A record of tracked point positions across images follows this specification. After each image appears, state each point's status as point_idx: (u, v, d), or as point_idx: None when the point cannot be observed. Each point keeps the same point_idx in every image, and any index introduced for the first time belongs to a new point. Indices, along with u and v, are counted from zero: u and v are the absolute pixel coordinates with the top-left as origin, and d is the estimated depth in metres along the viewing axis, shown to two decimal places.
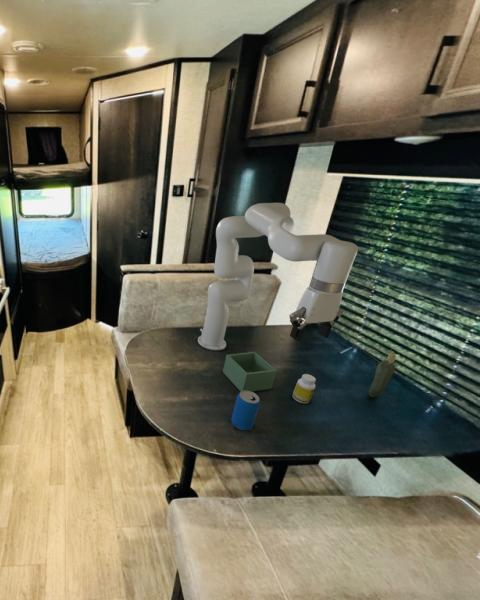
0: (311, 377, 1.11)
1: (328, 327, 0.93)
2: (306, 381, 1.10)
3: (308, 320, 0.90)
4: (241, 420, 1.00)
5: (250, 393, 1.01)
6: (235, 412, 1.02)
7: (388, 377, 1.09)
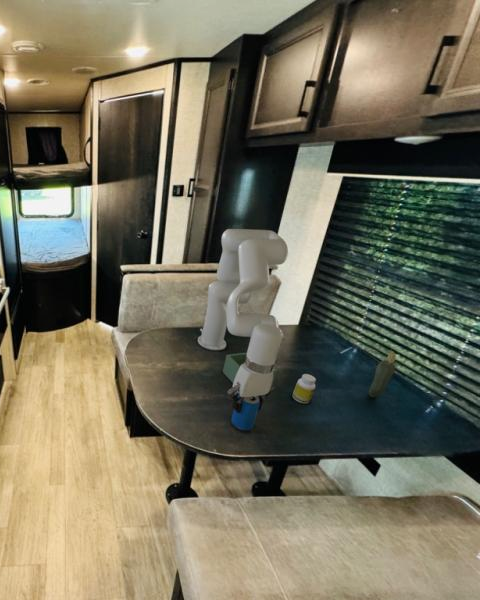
0: (311, 377, 1.11)
1: None
2: (306, 381, 1.10)
3: (242, 395, 0.96)
4: (241, 420, 1.00)
5: None
6: (235, 412, 1.02)
7: (388, 377, 1.09)
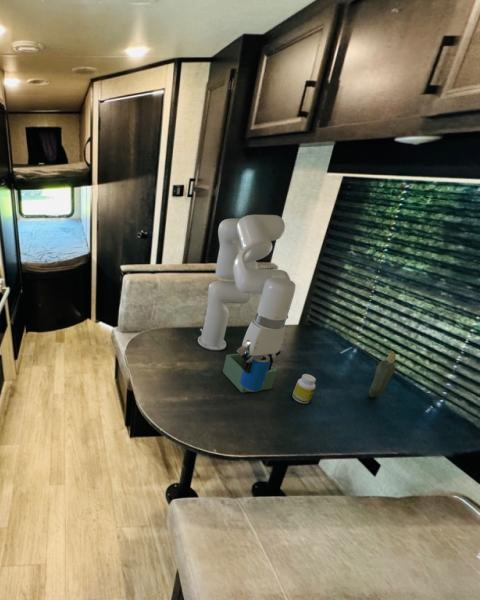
0: (311, 377, 1.11)
1: (270, 361, 0.96)
2: (306, 381, 1.10)
3: (252, 353, 0.92)
4: (251, 380, 0.97)
5: None
6: (244, 373, 0.99)
7: (388, 377, 1.09)
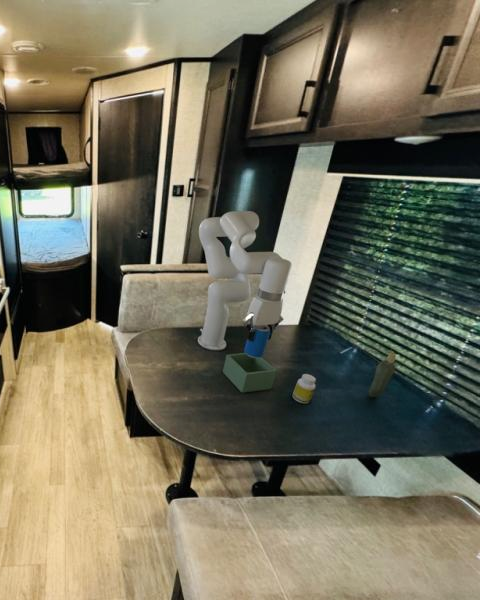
0: (311, 377, 1.11)
1: (270, 331, 1.12)
2: (306, 381, 1.10)
3: (255, 323, 1.09)
4: (253, 347, 1.13)
5: None
6: (248, 342, 1.15)
7: (388, 377, 1.09)
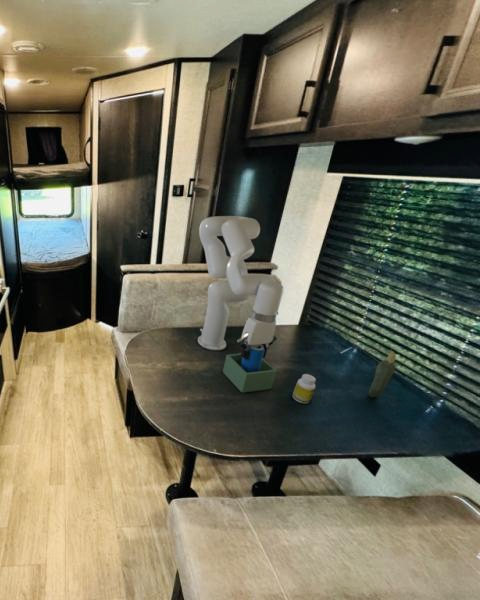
0: (311, 377, 1.11)
1: (264, 349, 1.18)
2: (306, 381, 1.10)
3: (250, 342, 1.14)
4: (249, 365, 1.18)
5: None
6: (243, 360, 1.20)
7: (388, 377, 1.09)
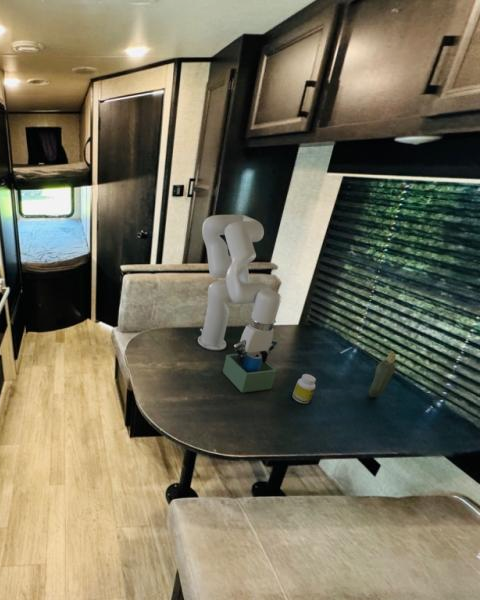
0: (311, 377, 1.11)
1: (265, 354, 1.19)
2: (306, 381, 1.10)
3: (247, 350, 1.15)
4: None
5: None
6: None
7: (388, 377, 1.09)
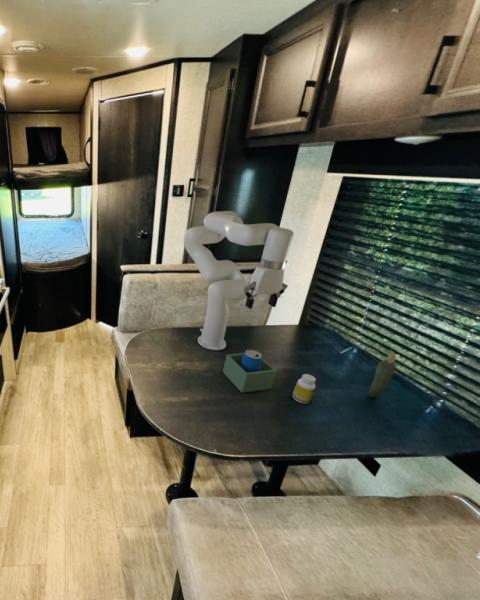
0: (311, 377, 1.11)
1: (275, 298, 1.16)
2: (306, 381, 1.10)
3: (257, 292, 1.13)
4: None
5: (254, 352, 1.21)
6: None
7: (388, 377, 1.09)
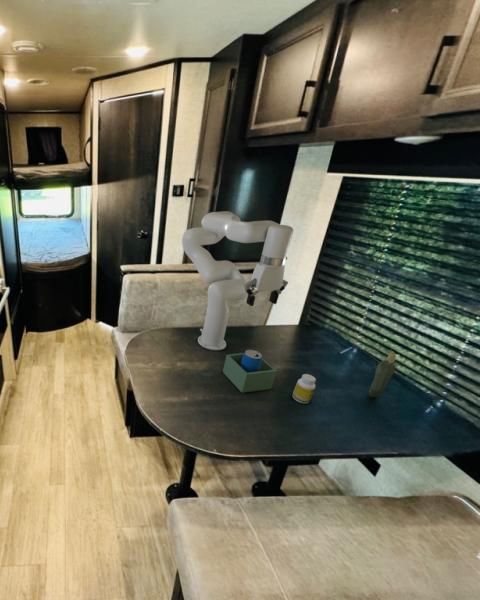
0: (311, 377, 1.11)
1: (276, 295, 1.17)
2: (306, 381, 1.10)
3: (258, 288, 1.13)
4: None
5: (254, 351, 1.21)
6: None
7: (388, 377, 1.09)
